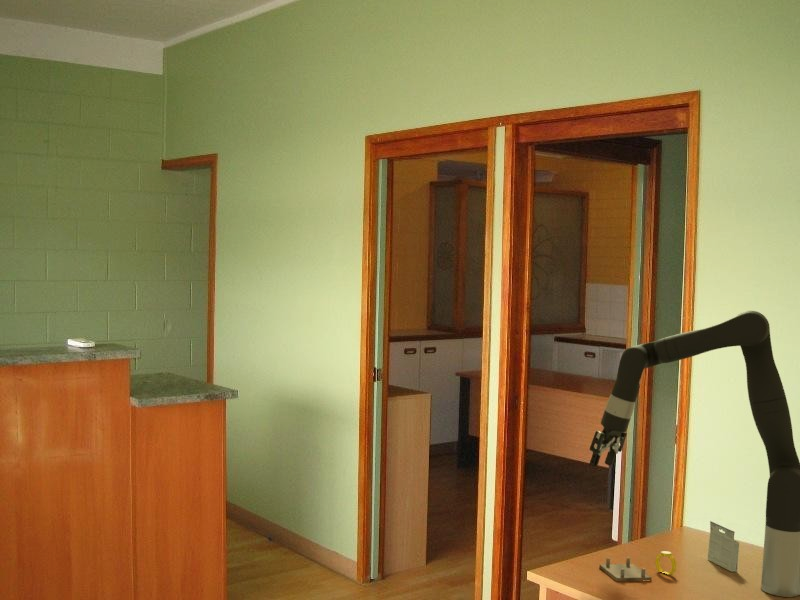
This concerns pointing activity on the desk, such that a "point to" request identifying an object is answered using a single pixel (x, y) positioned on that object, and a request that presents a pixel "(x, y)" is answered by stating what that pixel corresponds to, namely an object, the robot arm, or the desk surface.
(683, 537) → the desk surface
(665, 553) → the watch
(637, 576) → the pin plate
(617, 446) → the robot arm
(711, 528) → the ink box
